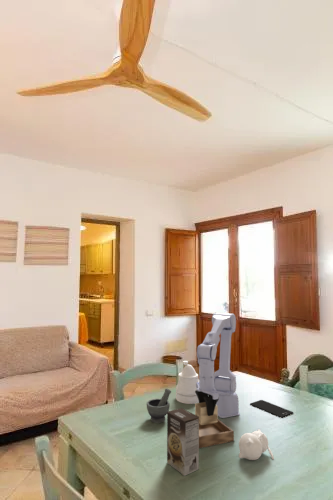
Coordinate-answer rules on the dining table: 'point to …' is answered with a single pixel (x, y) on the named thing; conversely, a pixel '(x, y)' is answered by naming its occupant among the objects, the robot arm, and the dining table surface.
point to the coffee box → (183, 441)
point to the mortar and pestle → (159, 407)
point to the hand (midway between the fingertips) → (206, 412)
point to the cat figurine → (253, 445)
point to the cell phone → (271, 408)
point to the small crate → (205, 414)
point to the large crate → (214, 434)
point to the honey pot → (187, 385)
